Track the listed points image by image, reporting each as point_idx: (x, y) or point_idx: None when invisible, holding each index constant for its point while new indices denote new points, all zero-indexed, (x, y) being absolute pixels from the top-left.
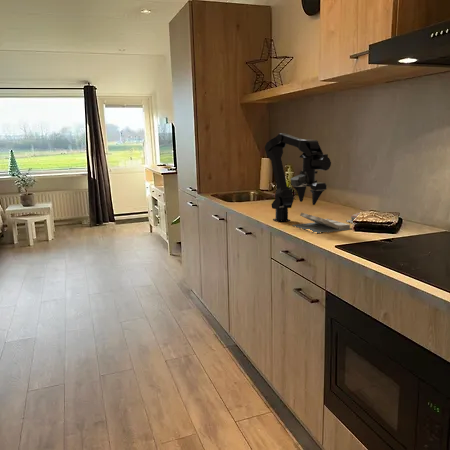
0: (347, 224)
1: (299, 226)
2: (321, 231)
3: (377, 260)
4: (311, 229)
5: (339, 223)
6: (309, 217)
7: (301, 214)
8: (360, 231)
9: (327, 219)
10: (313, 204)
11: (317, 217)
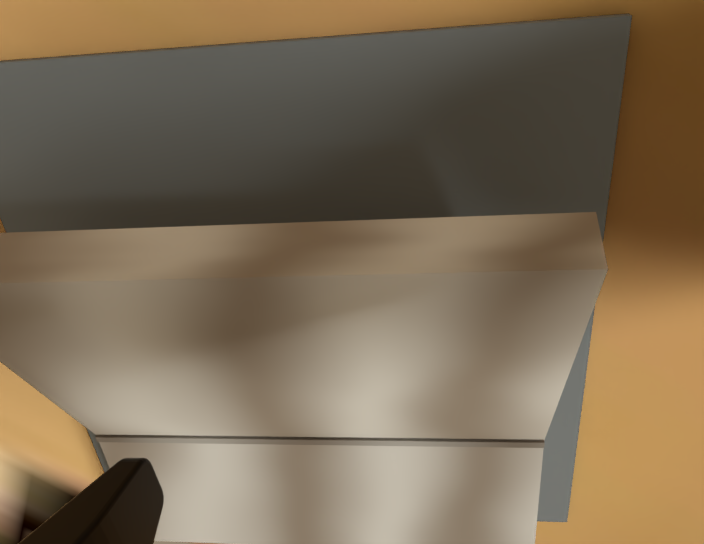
0: (157, 531)
1: (449, 73)
2: (31, 182)
3: None
4: (180, 128)
5: (228, 505)
6: (265, 235)
7: (561, 238)
8: (26, 505)
9: (495, 533)
10: (117, 470)
11: (36, 274)
